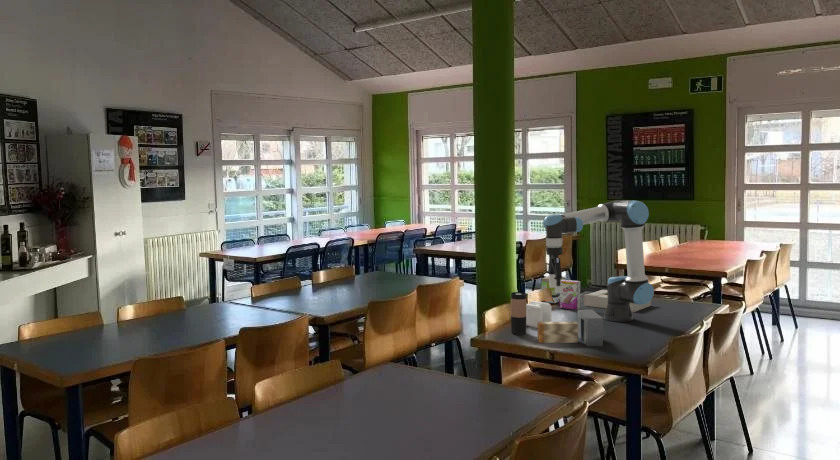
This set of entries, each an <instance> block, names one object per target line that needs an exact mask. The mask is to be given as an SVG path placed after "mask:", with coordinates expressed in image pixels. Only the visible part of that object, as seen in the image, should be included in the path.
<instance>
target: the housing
mask: <svg viewBox="0 0 840 460" xmlns="http://www.w3.org/2000/svg"><path fill="white" fill-rule="evenodd" d="M577 323H578V339H579V340H581V341H583V344H585V346H586V347H603V345H604V317H602V316H601V315H600V314H598V313H597V312H596V311H595V310H594V309H578V310H577Z"/></svg>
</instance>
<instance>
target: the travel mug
mask: <svg viewBox="0 0 840 460" xmlns="http://www.w3.org/2000/svg"><path fill="white" fill-rule="evenodd" d="M526 304H527V293H526V292H522V291H514V292H513V291H512V292H511V293H510V327H511V328H510V329H511V330H510V333H511V334H513V335H517V336H518V335H519V336H521V335H526V333H527V326H526Z"/></svg>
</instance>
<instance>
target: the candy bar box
mask: <svg viewBox="0 0 840 460" xmlns="http://www.w3.org/2000/svg"><path fill="white" fill-rule="evenodd" d="M558 303H559V309H563V310H574V311H575V310H576V311H578V310H581V280H580V281H579V280H571V279H565V280H561V293H560V294H559V302H558Z"/></svg>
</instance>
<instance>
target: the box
mask: <svg viewBox="0 0 840 460" xmlns="http://www.w3.org/2000/svg"><path fill="white" fill-rule="evenodd" d="M607 304H608V293H607V289H600V290H597V291H594V292H589V293H586V294H584V295H583V306H584V307H585V306H586V307H592V308H600V309H606V307H607ZM651 305H652V300H651V301H650V302H649V303H647V304H645V305H637V304H634V303H630V307H631V310H632V313H635V312H638V311H640V310H643V309H646V308H648V307H651Z"/></svg>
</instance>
